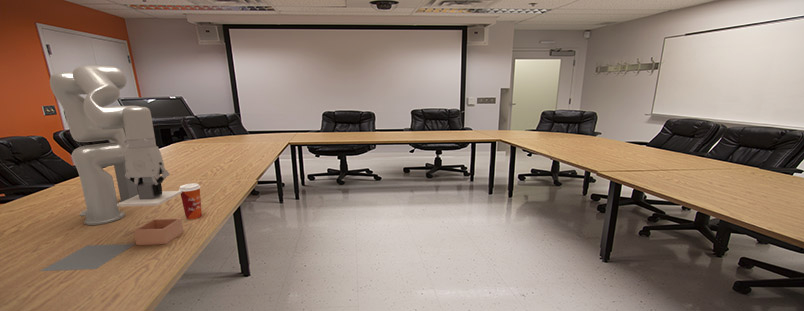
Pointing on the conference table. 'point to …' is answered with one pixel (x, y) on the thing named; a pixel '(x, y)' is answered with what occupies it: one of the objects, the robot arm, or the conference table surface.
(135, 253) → the conference table surface
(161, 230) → the open box
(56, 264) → the mat
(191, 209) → the paper cup
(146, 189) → the cover
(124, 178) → the tall grey upright block
